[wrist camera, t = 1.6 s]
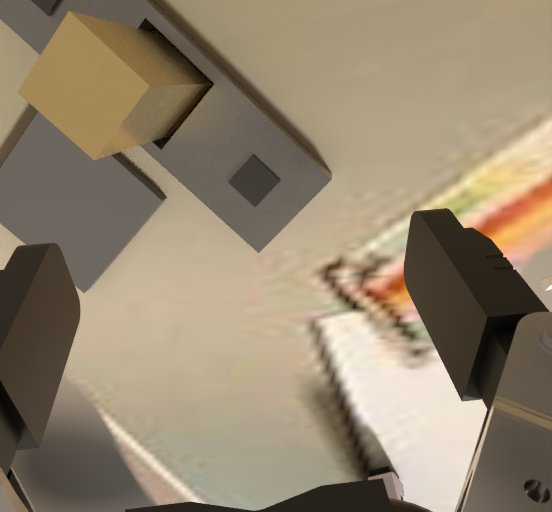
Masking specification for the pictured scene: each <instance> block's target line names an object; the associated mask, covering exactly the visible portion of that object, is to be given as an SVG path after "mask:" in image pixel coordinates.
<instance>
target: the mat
mask: <svg viewBox="0 0 552 512" xmlns="http://www.w3.org/2000/svg"><path fill="white" fill-rule="evenodd" d="M166 198H167V197H166V196H165V195H163V194H162V193H161V192H160V191H159V190H158V189H157V188H156V187H155V186H153V185H152V184H151V183H150V182H149V181H148V180H147V179H146V178H144V177H143V176H142V175H141V174H140V173H139V172H138V171H137V170H136V169H134V168H133V167H132V166H131V165H130V164H129V163H128V162H127V161H126V160H124V159H123V158H122V157H121V156H120V155H119V154H118V153H115V154H112V155H109V156H106V157H103V158H100V159H96V160H93V159H92V158H91V157H90V156H88V155H87V154H86V153H85V152H84V151H83V150H82V149H81V148H79V147H78V146H77V145H76V144H75V143H74V142H73V141H72V140H70V139H69V138H68V137H67V136H66V135H65V134H64V133H63V132H61V131H60V130H59V129H58V128H57V127H56V126H55V125H53V124H52V123H51V122H50V121H49V120H48V119H47V118H46V117H44V116H43V115H42V114H41V113H40V112H39V111H38V112H37V114H36V115H35V117H34V118H33V120H32V121H31V123H30V124H29V126H28V127H27V129H26V130H25V132H24V133H23V135H22V136H21V138H20V139H19V141H18V142H17V144H16V145H15V147H14V148H13V150H12V151H11V153H10V154H9V156H8V157H7V159H6V160H5V162H4V163H3V165H2V166H1V168H0V223H1V224H2V225H3V226H4V227H6V228H7V229H8V230H9V231H10V232H12V233H13V234H14V235H15V236H16V237H18V238H19V239H20V240H21V241H22V242H24V243H25V244H26V245H33V244H44V243H56V244H57V245H58V246H59V247H60V249H61V251H62V253H63V256H64V259H65V261H66V264H67V267H68V269H69V272H70V275H71V277H72V280H73V283H74V285H75V286H76V287H77V288H79V289H80V290H81V291H82V292H83V293H85V292H86V291H87V290H88V289H90V288H91V287H92V285H93V284H94V283H95V282H96V281H97V280H98V278H99V277H100V276H101V275H102V274H103V272H104V271H105V270H106V269H107V268H108V267H109V265H110V264H111V263H112V262H113V261H114V260H115V258H116V257H117V256H118V255H119V254H120V252H121V251H122V250H123V249H124V248H125V247H126V245H127V244H128V243H129V242H130V241H131V239H132V238H133V237H134V236H135V235H136V234H137V232H138V231H139V230H140V229H141V228H142V226H143V225H144V224H145V223H146V222H147V221H148V219H149V218H150V217H151V216H152V215H153V213H154V212H155V211H156V210H157V209H158V208H159V206H160V205H161V204H162V203H163V202H164V200H165V199H166Z"/></svg>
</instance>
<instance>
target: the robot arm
mask: <svg viewBox="0 0 552 512" xmlns="http://www.w3.org/2000/svg"><path fill="white" fill-rule="evenodd" d="M404 279H405V284H406V287H407V290H408V292H409V294H410V296H411V299H412V301H413V303H414V305H415V307H416V309H417V311H418V313H419V315H420V317H421V319H422V321H423V323H424V325H425V327H426V329H427V331H428V333H429V335H430V337H431V339H432V341H433V343H434V345H435V347H436V349H437V351H438V353H439V356H440V358H441V360H442V362H443V364H444V366H445V368H446V370H447V372H448V374H449V376H450V378H451V380H452V382H453V384H454V386H455V388H456V390H457V392H458V394H459V396H460V398H461V400H462V401H470V400H479V399H482V400H483V402H484V404H485V405H486V407H487V412H486V415H485V417H484V421H483V424H482V427H481V430H480V433H479V437H478V440H477V443H476V446H475V450H474V453H473V456H472V459H471V462H470V466H469V469H468V472H467V475H466V478H465V482H464V485H463V488H462V491H461V494H460V497H459V500H458V503H457V506H456V509H455V512H552V312H549V310H548V309H547V308H546V307H545V305H544V304H543V303H542V302H541V301H540V299H539V298H538V297H537V295H536V294H535V293H534V292H533V291H532V289H531V288H530V287H529V286H528V284H527V283H526V282H525V281H524V279H523V278H522V277H521V276H520V274H519V273H518V272H517V271H516V270H513V266H512V265H511V263H510V262H509V261H508V260H507V258H506V257H503V253H502V252H501V251H500V250H499V248H498V247H497V246H496V245H495V244H494V242H493V241H492V240H491V239H490V238H488V237H486V236H485V235H483V234H482V233H480V232H478V231H477V230H475V229H474V228H463V226H462V225H461V224H460V222H459V221H458V220H457V218H456V217H455V216H454V214H453V213H452V212H451V211H450V210H449V209H447V208H445V209H434V210H423V211H415V212H414V213H413V214H412V216H411V220H410V227H409V234H408V241H407V247H406V254H405V261H404ZM79 320H80V301H79V297H78V294H77V291H76V288H75V286H74V283H73V280H72V277H71V275H70V272H69V269H68V267H67V264H66V261H65V259H64V256H63V253H62V251H61V249H60V247H59V246H58V245H57V244H56V243H44V244H33V245H22V246H18V247H17V248H16V249H15V251H14V253H13V254H12V256H11V258H10V260H9V261H8V263H7V265H6V267H5V269H4V270H0V512H35V509H34V508H33V506H32V504H31V502H30V500H29V498H28V497H27V495H26V493H25V491H24V489H23V487H22V485H21V483H20V481H19V479H18V477H17V475H16V474H15V472H14V470H13V469H12V468H11V464H12V461H13V458H14V456H15V453H16V450H23V449H32V448H39V447H40V444H41V441H42V438H43V435H44V431H45V428H46V425H47V422H48V419H49V416H50V413H51V410H52V406H53V403H54V400H55V397H56V394H57V390H58V387H59V384H60V381H61V378H62V375H63V372H64V368H65V365H66V362H67V359H68V356H69V353H70V349H71V346H72V343H73V340H74V337H75V334H76V331H77V327H78V324H79ZM125 512H432V511H430V510H428V509H426V508H423V507H421V506H418V505H416V504H413V503H409V502H406V501H402V500H398V499H393V498H389V497H388V494H387V490H386V487H385V483H384V480H383V478H382V479H373V480H365V481H357V482H349V483H340V484H332V485H324V486H320V487H317V488H315V489H312V490H310V491H307V492H305V493H302V494H300V495H297V496H295V497H292V498H290V499H287V500H285V501H282V502H280V503H277V504H275V505H272V506H270V507H267V508H265V509H262V510H257V511H251V510H244V509H237V508H230V507H223V506H216V505H209V504H202V503H195V502H184V503H176V504H168V505H160V506H151V507H143V508H135V509H127V510H125Z"/></svg>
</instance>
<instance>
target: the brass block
mask: <svg viewBox="0 0 552 512" xmlns="http://www.w3.org/2000/svg"><path fill="white" fill-rule="evenodd" d="M210 86H211V83H210V82H209V81H208V80H207V79H206V78H205V77H204V76H203V75H202V74H201V73H199V72H198V71H197V70H196V69H195V68H194V67H193V66H192V65H191V64H190V63H189V62H188V61H187V60H186V59H185V58H184V57H183V56H182V55H181V54H180V53H179V52H178V51H176V50H175V49H174V48H173V47H172V46H171V45H170V44H169V43H168V42H167V41H166V40H165V39H164V38H163V37H162V36H161V35H160V34H158V33H154V32H151V31H147V30H143V29H139V28H135V27H131V26H127V25H123V24H119V23H115V22H111V21H107V20H104V19H100V18H96V17H92V16H88V15H84V14H80V13H76V12H72V11H69V12H68V13H67V15H66V16H65V18H64V19H63V21H62V22H61V24H60V26H59V27H58V29H57V30H56V32H55V33H54V35H53V37H52V38H51V40H50V41H49V43H48V44H47V46H46V48H45V49H44V51H43V52H42V54H41V55H40V57H39V58H38V60H37V62H36V63H35V65H34V66H33V68H32V69H31V71H30V73H29V74H28V76H27V77H26V79H25V80H24V82H23V84H22V85H21V87H20V88H19V90H18V91H17V93H19V94H20V95H21V96H22V97H23V98H24V99H25V100H26V101H28V102H29V103H30V104H31V105H32V106H33V107H34V108H35V109H37V110H38V111H39V112H40V113H41V114H42V115H43V116H44V117H46V118H47V119H48V120H49V121H50V122H51V123H52V124H53V125H55V126H56V127H57V128H58V129H59V130H60V131H61V132H63V133H64V134H65V135H66V136H67V137H68V138H69V139H70V140H72V141H73V142H74V143H75V144H76V145H77V146H78V147H79V148H81V149H82V150H83V151H84V152H85V153H86V154H87V155H88V156H90V157H91V158H92V159H93V160H96V159H100V158H103V157H106V156H109V155H112V154H115V153H118V152H121V151H124V150H127V149H130V148H134V147H137V146H140V145H143V144H146V143H149V142H152V141H155V140H158V139H161V138H164V137H168V136H170V135H171V134H172V133H173V132H174V130H175V129H176V128H177V127H178V125H179V124H180V123H181V122H182V120H183V119H184V118H185V117H186V115H187V114H188V113H189V112H190V110H191V109H192V108H193V107H194V105H195V104H196V103H197V102H198V100H199V99H200V98H201V97H202V95H203V94H204V93H205V92H206V90H207V89H208V88H209V87H210Z"/></svg>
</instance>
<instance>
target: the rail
mask: <svg viewBox="0 0 552 512" xmlns="http://www.w3.org/2000/svg"><path fill="white" fill-rule="evenodd" d="M69 11H72V12H76V13H80V14H84V15H88V16H92V17H96V18H100V19H104V20H107V21H111V22H115V23H119V24H123V25H127V26H131V27H135V28H139V29H143V30H147V31H151V29H152V28H153V27H154V26H155V27H156V28H157V29H158V30H159V31H160V32H161V33H162V34H163V35H164V36H165V37H166V38H167V39H168V40H169V41H170V42H171V43H172V44H174V45H175V46H176V47H177V48H178V49H179V50H180V51H181V52H182V53H183V54H184V55H185V56H186V57H187V58H188V59H189V60H190V61H191V62H192V63H193V64H194V65H195V66H197V67H198V68H199V69H200V70H201V71H202V72H203V73H204V74H205V75H206V76H207V77H208V78H209V79H210V80H211V81H212V82H213V83H214V85H213V86H212V88H211V89H210V90H209V91H208V93H207V94H206V95H205V96H204V98H203V99H202V100H201V101H200V103H199V104H198V105H197V106H196V108H195V109H194V110H193V111H192V112H191V114H190V115H189V116H188V117H187V119H186V120H185V121H184V122H183V124H182V125H181V126H180V127H179V129H178V130H177V131H176V132H175V134H174V135H173V136H172V137H171V139H170V140H169V141H168V142H166V141H165V140H164V139H163V138H161V139H158V140H155V141H152V142H149V143H146V144H143V145H140V146H141V147H142V148H143V149H144V150H146V151H147V152H148V153H149V154H150V155H151V156H152V157H153V158H154V159H155V160H157V161H158V162H159V163H160V164H161V165H162V166H163V167H164V168H165V169H166V170H168V171H169V172H170V173H171V174H172V175H173V176H174V177H175V178H176V179H178V180H179V181H180V182H181V183H182V184H183V185H184V186H185V187H186V188H187V189H189V190H190V191H191V192H192V193H193V194H194V195H195V196H196V197H197V198H198V199H200V200H201V201H202V202H203V203H204V204H205V205H206V206H207V207H208V208H209V209H211V210H212V211H213V212H214V213H215V214H216V215H217V216H218V217H219V218H220V219H222V220H223V221H224V222H225V223H226V224H227V225H228V226H229V227H230V228H232V229H233V230H234V231H235V232H236V233H237V234H238V235H239V236H240V237H241V238H243V239H244V240H245V241H246V242H247V243H248V244H249V245H250V246H251V247H252V248H254V249H255V250H256V251H257V252H258V253H259V252H260V251H261V250H262V249H263V248H264V247H265V246H266V245H267V244H268V243H269V242H270V241H271V240H272V239H273V238H274V237H275V236H276V235H277V234H278V233H279V232H280V231H281V230H282V229H283V228H284V227H285V226H286V225H287V224H288V223H289V222H290V221H291V220H292V219H293V218H294V217H295V216H296V215H297V214H298V213H299V212H300V211H301V210H302V209H303V208H304V207H305V206H306V205H307V204H308V203H309V202H310V201H311V200H312V199H313V198H314V197H315V196H316V195H317V194H318V193H319V192H320V191H321V190H322V189H323V188H324V187H325V186H326V185H327V184H328V182H329V181H330V180H331V179H332V173H331V172H330V171H329V170H328V169H327V168H326V167H325V166H324V165H323V164H322V163H321V162H319V161H318V160H317V159H316V158H315V157H314V156H313V155H312V154H311V153H310V152H309V151H308V150H307V149H306V148H305V147H304V146H303V145H302V144H301V143H300V142H299V141H298V140H297V139H296V138H295V137H294V136H293V135H292V134H290V133H289V132H288V131H287V130H286V129H285V128H284V127H283V126H282V125H281V124H280V123H279V122H278V121H277V120H276V119H275V118H274V117H273V116H272V115H271V114H270V113H269V112H268V111H267V110H266V109H265V108H264V107H263V106H262V105H260V104H259V103H258V102H257V101H256V100H255V99H254V98H253V97H252V96H251V95H250V94H249V93H248V92H247V91H246V90H245V89H244V88H243V87H242V86H241V85H240V84H239V83H238V82H237V81H236V80H235V79H234V78H233V77H232V76H230V75H229V74H228V73H227V72H226V71H225V70H224V69H223V68H222V67H221V66H220V65H219V64H218V63H217V62H216V61H215V60H214V59H213V58H212V57H211V56H210V55H209V54H208V53H207V52H206V51H205V50H204V49H203V48H202V47H200V46H199V45H198V44H197V43H196V42H195V41H194V40H193V39H192V38H191V37H190V36H189V35H188V34H187V33H186V32H185V31H184V30H183V29H182V28H181V27H180V26H179V25H178V24H177V23H176V22H175V21H174V20H173V19H172V18H170V17H169V16H168V15H167V14H166V13H165V12H164V11H163V10H162V9H161V8H160V7H159V6H158V5H157V4H156V3H155V2H154V1H153V0H0V19H1V20H2V21H3V22H4V23H6V24H7V25H8V26H9V27H10V28H11V29H12V30H13V31H14V32H15V33H17V34H18V35H19V36H20V37H21V38H22V39H23V40H24V41H25V42H27V43H28V44H29V45H30V46H31V47H32V48H33V49H34V50H35V51H36V52H38V53H39V54H40V55H41V54H42V52H43V51H44V49H45V48H46V46H47V44H48V43H49V41H50V40H51V38H52V37H53V35H54V33H55V32H56V30H57V29H58V27H59V26H60V24H61V22H62V21H63V19H64V18H65V16H66V15H67V13H68V12H69Z"/></svg>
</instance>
